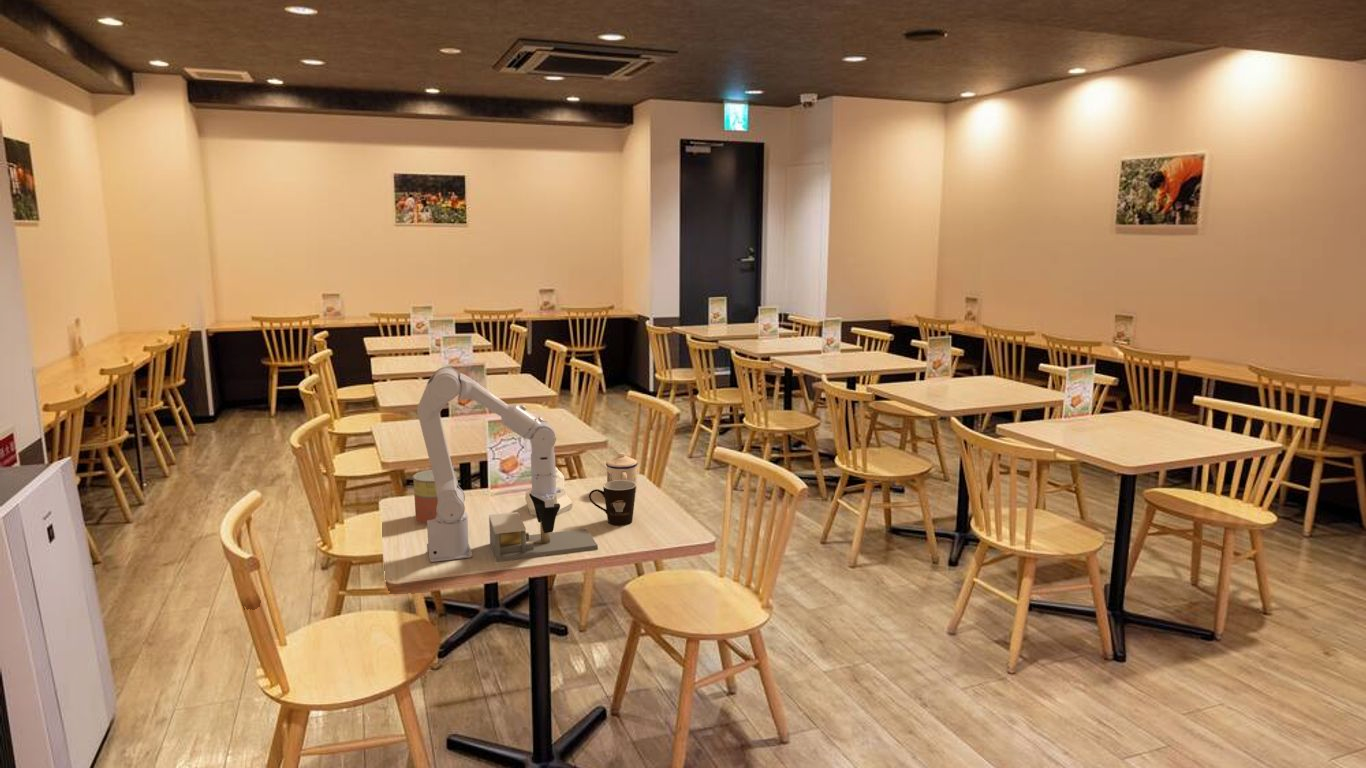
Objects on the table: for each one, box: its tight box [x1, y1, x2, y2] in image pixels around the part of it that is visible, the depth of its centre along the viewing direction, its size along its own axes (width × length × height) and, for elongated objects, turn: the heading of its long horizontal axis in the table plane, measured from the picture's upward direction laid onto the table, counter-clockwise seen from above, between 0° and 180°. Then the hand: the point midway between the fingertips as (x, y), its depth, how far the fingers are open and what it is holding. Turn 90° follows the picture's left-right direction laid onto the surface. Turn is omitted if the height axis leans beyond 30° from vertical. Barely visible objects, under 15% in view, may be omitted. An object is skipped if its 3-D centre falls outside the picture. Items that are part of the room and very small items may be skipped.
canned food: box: [412, 468, 459, 527], centre depth 226 cm, size 11×11×12 cm
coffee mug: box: [588, 480, 637, 527], centre depth 225 cm, size 12×9×10 cm
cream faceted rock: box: [524, 466, 574, 516], centre depth 234 cm, size 12×15×14 cm
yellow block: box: [500, 521, 551, 546], centre depth 206 cm, size 12×5×5 cm, turn 109°
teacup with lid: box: [605, 452, 638, 494], centre depth 248 cm, size 12×9×12 cm
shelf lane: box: [488, 511, 599, 562], centre depth 207 cm, size 24×12×7 cm, turn 109°
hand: (545, 526), depth 207 cm, fingers open, 7 cm apart
